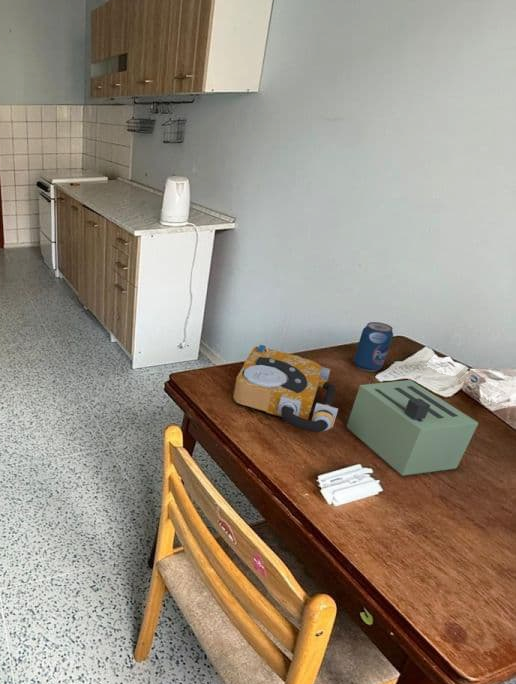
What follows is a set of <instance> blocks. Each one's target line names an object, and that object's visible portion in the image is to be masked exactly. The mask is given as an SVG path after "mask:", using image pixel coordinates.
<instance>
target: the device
mask: <svg viewBox="0 0 516 684" xmlns="http://www.w3.org/2000/svg"><path fill="white" fill-rule="evenodd" d="M330 373H331V368H328V367H325V366H322V365H321V364H319V363H317V362H316V361H314V360H313V359H308V358H305V357H302V356H300V355H295V354H291V353H288V352H283V351H279V350H275V349H271V348H266V345H263V344H259V346H255V347H253V349H252V351H250V354H249V355H248V356H247V358H246V360H245V361H244V363H243V366H242V367H241V369H240V371H239V372H238V374H237V376H236V380H235V385H234V390H233V400H234V401H235V402H236V403H237V404H239V405H243V406H246V407H248V408H249V407H250V408H252V409H255V410H260V411H263V412H265V413H266V414H269V415H274V416H278V417H281V418H282V419H283V420H284V421H285V422H286V423H287V424H288V425H290V426H293V427H294V428H298V429H301V430H304V431H307V432H312V433H321V432H325V431H326V432H327V431H329V430H331V429H332V428H334V425H335V421H336V418H337V415H338V411H339V408H337V407H334V406H333V401H334V398H335V393H336V388H335V386H334V385H333V384H332V383H331V382H329V377H330ZM318 388H319V389H321V390H326V392H325V396H324V398H323V399H324V400H323V403H319V402H316V404H315V405H314V402H315V399H316V395H317V391H318ZM313 405H314V406H315V407H314V409H313ZM312 409H313V413H312V416H311V417H312V418H311V420H310V419H309V418H310V414H311V412H312Z"/></svg>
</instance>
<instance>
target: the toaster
mask: <svg viewBox="0 0 516 684" xmlns="http://www.w3.org/2000/svg"><path fill="white" fill-rule="evenodd" d="M358 387H359V388H358V390H357V392H356V393H357V394H356V396H355V399H354V403H353V405H352V409H351V412H350V415H349V418H348V421H347V424H346V429H348V430H349V432H351V433H352V434H353V435H354V436H356V437H357V438H358V439H359V440H360V441H362V442H363V443H364V444H365V445H366V446H367V447H368V448H369V449H371V450H372V451H373V452H374V453H375V454H376V455H378V457H380V458H381V459H382V460H384V462H386V464H388V466H390V467H391V468H393V469H394V471H396V472H397V473H398V474H399V475H401V476H410V475H417V474H418V475H419V474H426V473H432V472H433V473H434V472H441V471H447V470H455V469H458V466H459V464H460V462H461V460H462V458H463V456H464V454H465V452H466V450H467V448H468V446H469V444H470V442H471V439H472V437H473V436H474V433H475V432H476V430H477V428H478V426H479V422H478V421H477V420H475V419H474V418H472V417H471V416H469V415H467V414H465V413H464V412H462V411H461V410H459V409H458V408H456V407H454V406H453V405H451V404H450V403H448V402H446V401H445V400H443V399H442V398H440V397H438V396H437V395H435V394H434V393H432V392H431V391H429V390H427V389H426V388H424V387H422V386H421V385H419V384H418V383H416V382H414V381H413V380H411V379H407V380H406V379H405V380H396V381H387V382H386V381H385V382H375V383H368V384H367V383H366V384H360V385H359V386H358ZM411 399H422V400H423V401H425V402H426V403H428V404H429V405H430V408H429V410H428V412H427V415H426V417H425V418H424V419H415V420H414V419H412V418H411V417H410V416H408V415H407V414H405V413H404V412H405V409H406V406H407V404H408V401H409V400H411Z"/></svg>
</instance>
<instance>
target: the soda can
mask: <svg viewBox="0 0 516 684" xmlns="http://www.w3.org/2000/svg"><path fill="white" fill-rule="evenodd" d="M393 330H394V329H393V326H391V325H390V324H387V323H383V322H378V321H372V322H371V321H369V322H368V323H367V324H366V326H365V327H364V328H363V329H362V331H361V334H360V338H359V341H358V344H357V348H356V351H355V353H354V357H353V363H354V365H355V367H356V368H358V369H360V370H362V371H366V372H377V371H379V370H380V369H381V368H383V366H384V363H385V361H386V358H387V356H388V352H389V349H390V346H391V343H392V341H393V337H394V332H393Z"/></svg>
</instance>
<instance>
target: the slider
mask: <svg viewBox="0 0 516 684" xmlns="http://www.w3.org/2000/svg"><path fill="white" fill-rule="evenodd" d="M429 408H430V405H429V404H428V403H426V402H425V401H423V400H422V399H411V400H409V401H408V404H407V406H406V409H405V412H404V413H405V414H407V415H408V416H410V417H411V418H412V419H414V420H415V419H424V418H425V417H426V415H427V412H428V410H429Z"/></svg>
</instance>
